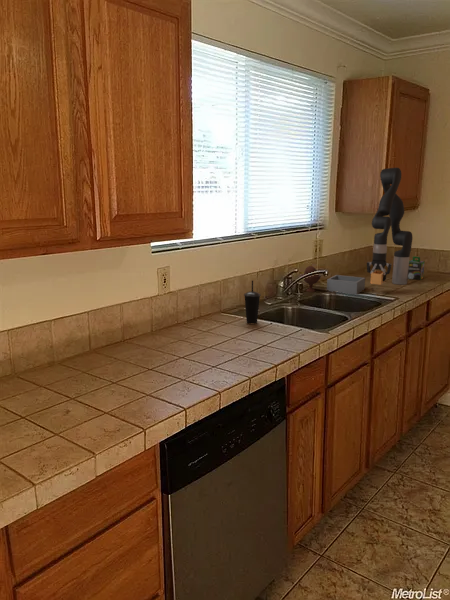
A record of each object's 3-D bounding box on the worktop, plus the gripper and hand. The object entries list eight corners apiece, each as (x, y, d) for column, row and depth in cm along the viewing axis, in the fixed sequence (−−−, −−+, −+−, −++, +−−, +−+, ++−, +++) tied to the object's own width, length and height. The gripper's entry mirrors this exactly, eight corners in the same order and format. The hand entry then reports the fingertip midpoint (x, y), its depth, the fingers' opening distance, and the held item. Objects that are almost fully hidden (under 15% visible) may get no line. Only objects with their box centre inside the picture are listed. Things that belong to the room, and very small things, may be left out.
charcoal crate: (335, 285, 318) (336, 274, 317) (364, 289, 309) (365, 277, 308) (326, 290, 305) (327, 279, 303) (356, 294, 296) (357, 282, 294)
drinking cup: (248, 325, 234) (249, 282, 229) (240, 321, 240) (241, 279, 236) (263, 323, 237) (264, 281, 233) (254, 319, 244) (255, 278, 239)
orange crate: (374, 280, 303) (375, 270, 302) (385, 281, 300) (385, 271, 299) (370, 283, 295) (370, 273, 293) (380, 284, 292) (381, 274, 290)
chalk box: (423, 278, 343) (425, 256, 340) (420, 280, 336) (422, 257, 332) (409, 276, 348) (411, 254, 345) (406, 278, 341) (407, 256, 337)
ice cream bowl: (321, 292, 299) (322, 267, 296) (302, 292, 300) (303, 267, 296) (318, 288, 310) (320, 264, 306) (300, 288, 310) (301, 264, 306)
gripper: (394, 251, 293) (392, 280, 297) (369, 250, 300) (367, 278, 304) (391, 253, 286) (389, 283, 290) (365, 251, 293) (363, 280, 298)
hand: (377, 280), depth 297 cm, fingers closed on orange crate, 6 cm apart
